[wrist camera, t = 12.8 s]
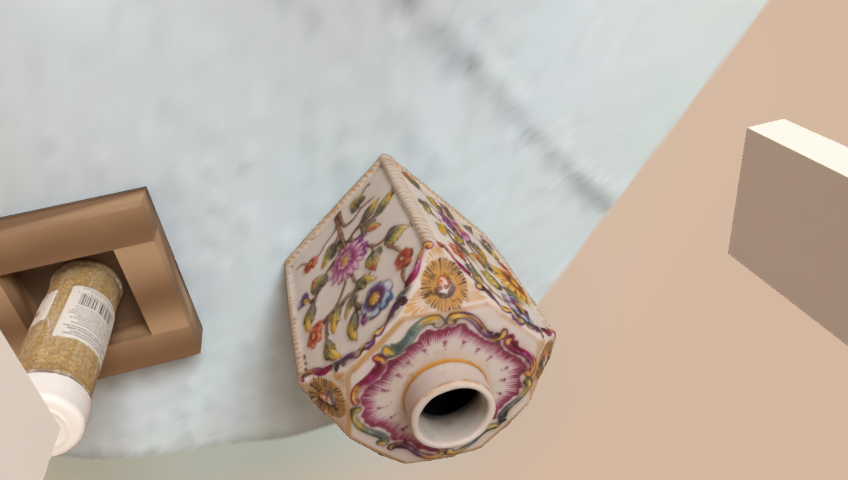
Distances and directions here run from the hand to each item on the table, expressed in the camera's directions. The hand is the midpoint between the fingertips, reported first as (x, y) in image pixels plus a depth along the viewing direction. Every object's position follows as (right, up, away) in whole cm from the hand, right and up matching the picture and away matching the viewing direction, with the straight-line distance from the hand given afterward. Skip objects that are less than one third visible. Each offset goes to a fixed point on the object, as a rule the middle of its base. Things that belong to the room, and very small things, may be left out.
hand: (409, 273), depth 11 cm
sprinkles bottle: (-23, -2, +32) cm, 39 cm away
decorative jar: (-2, 0, +37) cm, 37 cm away
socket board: (-23, -2, +32) cm, 40 cm away
